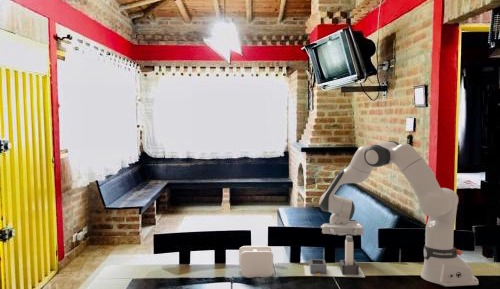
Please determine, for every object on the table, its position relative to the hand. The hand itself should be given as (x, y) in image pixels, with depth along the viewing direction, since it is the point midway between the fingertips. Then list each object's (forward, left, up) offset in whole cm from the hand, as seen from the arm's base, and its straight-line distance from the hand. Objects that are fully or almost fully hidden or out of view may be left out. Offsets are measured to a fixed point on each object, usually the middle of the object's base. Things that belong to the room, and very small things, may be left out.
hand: (344, 233), depth 197 cm
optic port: (+14, +12, -14) cm, 23 cm away
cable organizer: (+42, +15, -15) cm, 47 cm away
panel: (+7, +12, -15) cm, 21 cm away
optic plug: (0, +12, -14) cm, 19 cm away
